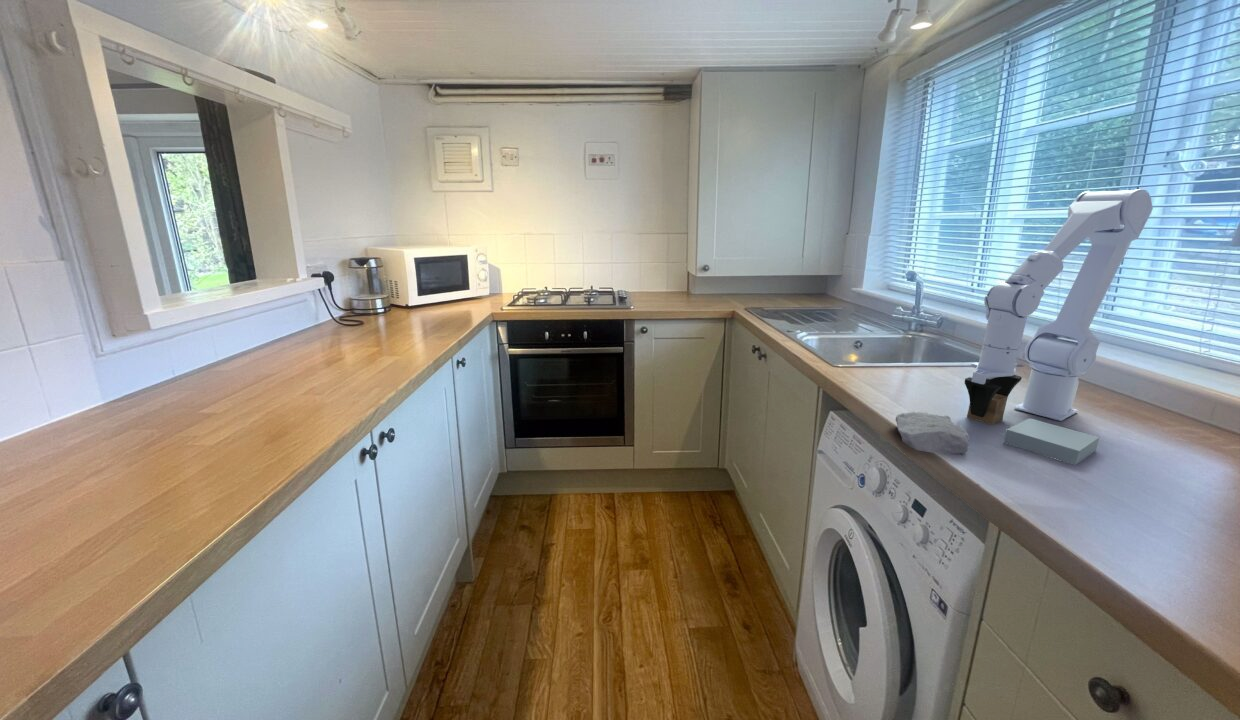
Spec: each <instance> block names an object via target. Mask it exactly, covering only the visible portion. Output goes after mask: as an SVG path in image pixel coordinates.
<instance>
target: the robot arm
mask: <svg viewBox="0 0 1240 720" xmlns="http://www.w3.org/2000/svg"><path fill="white" fill-rule="evenodd" d="M1152 211H1153V203H1152V196H1151V194H1150V193H1149V192H1148V190H1146V189H1144V188H1140V189H1139V188H1137V189H1133V190H1110V191H1108V190H1107V191H1090V190H1087V191H1084V192H1081V193H1080V194H1078V196H1076V198H1075V199H1074V200H1073V201H1072V203H1071V204H1070V205H1069V206H1068V209H1067V219H1066V221H1065V222H1064V223H1063V224H1062V226H1061V227H1060V228H1059V230H1057V232H1056V234H1055V235H1054V236H1053V237H1052V238H1051V240H1050V241H1049V243H1048V244H1047V245H1046V246H1045V248H1044V249H1043V250H1042V251H1040V250H1039V251H1035V252H1033V253H1031V254H1029V255H1028V256H1027V258H1026V259H1025V260H1024V261H1023V262H1022V263H1021V264H1020V265H1019V266H1018V267H1017V269H1016V270H1015V271H1014V272H1013V273H1012V274H1010V276H1009V277H1008V278H1007V279H1006V280H1005V281H1003V282H1000V283H998V284H997V283H996V285H993V286H992V287H991V288H990V289H989V290H988V292H987V294H986V296H984V298H983V299H984V300H983V301H984V302H983V303H984V307H985V309H986V313H985V319H986V320H987V324H986V329H985V333H984V336H983V337H984V338H983V343H982V346H981V351H980V355H979V361H978V362H975V361H974V362H972V363H971V365H970V367H971V368H975V371H973V372H972V376H971V377H970V376H969V377H966V378H964V385H965V387H966V389H967V393H968V396H969V397H968V398H969V405H970V411H971V414H972V415H975V416H979V417H984V416H985V414H986V412H987V410H988V407H989V405H990V402H991V400H992V398H993V397H994V395H995V394H999V395H1003V396H1007V397H1009V395H1010V393H1011V392H1012V390H1013V389H1014V388H1015V387H1016V386H1017V385H1018V384H1019V383H1020V382H1021V380H1022V376H1020V375H1017V374H1016V370H1017V366H1018V364H1017V362H1018V357H1019V356H1018V355H1019V353H1020V349H1021V344H1022V339H1023V337H1024V331H1025V327H1026V323H1027V320H1028V317H1029V316H1031V315H1032V314H1033V313H1034V312H1035V311H1037V309H1038V307H1039V306H1040V303H1041V300H1042V297H1044V294H1045V290H1046V288H1047V287H1048V286H1049V285H1050V284H1051V283H1052V282H1053V280H1055V279H1056V278H1057V276H1058V275H1060V273H1061V272H1062V271H1063V269H1064V264H1063V260H1064V259H1065V258H1066V257H1067V256H1069V255H1070V254H1071V253H1072V252H1073V251H1074V250H1075V249H1076V248H1077V247H1078V246H1080V245H1081V244H1082V243H1083V242H1085V240H1086V239H1087V240H1089V242H1090V244H1091V245H1090V248H1089V250H1088V253H1087V255H1086V257H1085V258H1084V261H1083V264H1082V265H1081V266H1080V269H1079V271H1078V272H1077V275H1076V278H1075V280H1074V282H1073V284H1072V286H1071V287H1070V289H1069V292H1068V293H1067V296H1066V298H1065V300H1064V302H1063V304H1062V306H1061V309H1060V310H1059V313H1058V314H1057V317H1056V319H1055V320H1054V321H1052V322H1049V323H1046V324H1044V325H1041V326H1039V327H1038V329H1037V331H1036V332H1035V334H1034V335H1033V337H1032V338H1030V340H1029V341H1028V342H1027V343H1026V346H1025V347H1024V358H1025V359H1026V361H1027V362H1028V367H1030V368H1031V370H1030V375H1029V379H1028V382H1027V387H1026V390H1025V393H1024V394H1025V395H1024V399H1023V402H1022V403H1020V404H1017V405H1015V406H1014V409H1015V410H1016V411H1017V410H1018V411H1021V412H1026V413H1030V414H1033V415H1037V416H1041V417H1045V418H1048V419H1052V420H1055V421H1064V420H1066V419H1067V418H1069V417H1071V416H1072V415H1075V414H1076V413H1078V411H1079V410H1078V409H1076V408H1073V405H1074V403H1075V402H1074V401H1075V398H1076V395H1077V391H1078V387H1079V384H1080V383H1079V382H1080V381H1079V378H1078V377H1080V376H1083V375H1084V374H1085V373H1087V372H1088V371H1090V369H1092V368H1093V366H1094V364H1095V362H1096V360H1097V359H1096V358H1097V352H1098V348H1099V346H1100V344H1101V342H1100V340H1099V339H1098V338H1097V335H1096V334H1094V333H1093V332H1092V330H1091V329H1090V326H1091V324H1092V323H1093V321H1094V318H1095V317H1096V314H1097V312H1098V310H1099V308H1100V306H1101V304H1102V302H1103V300H1104V298H1105V296H1106V294H1107V292H1108V291H1109V288H1110V286H1111V285H1112V282H1113V280H1114V278H1115V277H1116V273H1117V271H1118V270H1119V268H1120V266H1121V263H1122V261H1124V258H1125V255H1126V253H1127V252H1128V250H1129V248H1130V246H1131V243H1132V242H1133V241H1135V240H1138V238H1139V237H1140V236H1141V233H1142V232H1143V230H1144V227H1145V226H1146V224H1147V222H1148V220H1149V217H1150V215H1151V214H1152ZM1067 339H1068V340H1067ZM1071 340H1072V341H1071Z"/></svg>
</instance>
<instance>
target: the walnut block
mask: <svg viewBox="0 0 1240 720" xmlns="http://www.w3.org/2000/svg"><path fill="white" fill-rule="evenodd" d="M1008 397H1009V396H1008ZM1008 397H1007V396H1003V395H999V394H995V395H994V397H993V398H992V400H991V402H990V405H989V407H988V410H987V412H986V414H985V416H984V417H979V416H975V415H972V414H971V411H970V404H969V405H968V410H967V415H966V418H969V419H972V420H975V421H979V422H982V423H986V424H988V425H994V424H996V423H999V422H1001V421H1003V418H1004V414H1005V410H1006V405H1007V401H1008Z"/></svg>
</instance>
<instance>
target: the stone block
mask: <svg viewBox="0 0 1240 720" xmlns="http://www.w3.org/2000/svg"><path fill="white" fill-rule="evenodd" d="M895 422H896V426H897V431H898V433H899V434H900V436H901V440H902V443H904V444H906V445H907V446H908V447H910V448H911V449H914V450H915V451H920V452H927V453H933V454H935V453H936V454H937V453H938V454H948V455H949V454H950V455H967V452H968V449H969V446H970V434H969V433H968V432H967V430H966V429H965V428H963V427H962V426H960V425H956V424H954V422H953V421H952V419H951V417H950V416H949V415H939V414H934V413H929V412H922V411H921V412H920V411H909V412H902V413H900V414H897V415H896V416H895Z"/></svg>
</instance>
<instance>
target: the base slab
mask: <svg viewBox="0 0 1240 720" xmlns="http://www.w3.org/2000/svg"><path fill="white" fill-rule="evenodd" d="M1099 441H1100V437H1099V436H1095V435H1092V434H1089V433H1085V432H1081V431H1077V430H1075V429H1070V428H1067V427H1064V426H1063V427H1062V426H1060V425H1056V424H1052V423H1048V422H1045V421H1041V420H1038V419H1035V418H1030V417H1029V418H1027V419H1025V420H1023V421H1020V422H1019V423H1018V424H1015V425H1013V426H1011V427H1009V428H1007V429H1006V431H1005V435H1004V440H1003V443H1004V444H1006V443H1007V444H1006V445H1009V444H1011V445H1010V446H1012V445H1014V446H1013V447H1016V446H1017V448H1019V447H1020V448H1019V449H1022V448H1023V449H1022V450H1025V449H1026V450H1025V451H1028V450H1029V451H1028V452H1031V451H1032V452H1031V453H1035V454H1039V455H1041V454H1042V455H1041V456H1044V455H1045V456H1044V457H1047V456H1048V457H1047V458H1050V457H1052V458H1051V459H1053V458H1056V459H1055V460H1057V459H1058V461H1060V460H1061V462H1063V461H1064V463H1066V462H1067V463H1066V464H1069V463H1070V464H1069V465H1072V464H1073V466H1076V465H1078V464H1079V463H1080V462H1082V461H1083V460H1085V459H1086V458H1087V457H1089V456H1090V455H1092V454H1093V453H1094V452H1096V450H1097V446H1098V443H1099Z"/></svg>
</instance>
